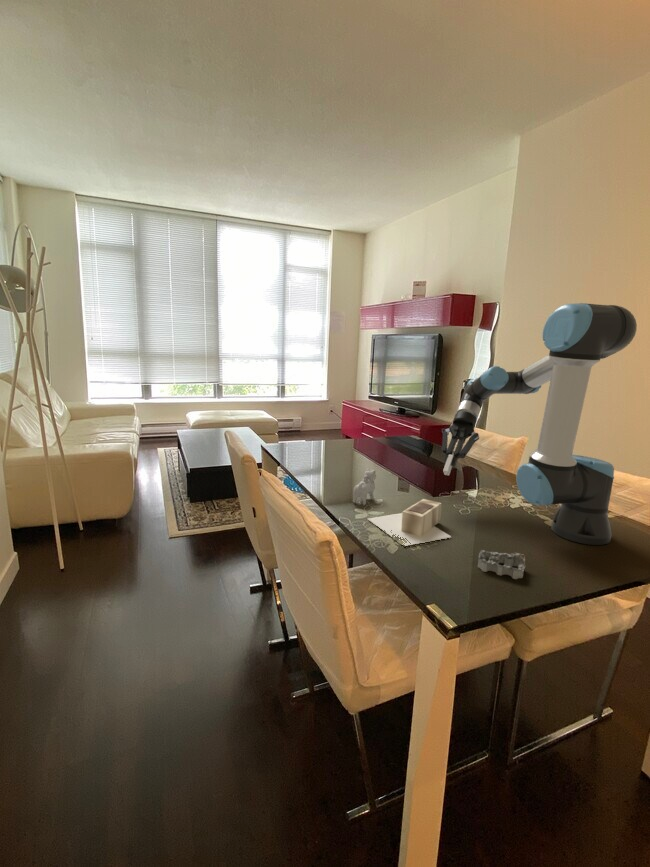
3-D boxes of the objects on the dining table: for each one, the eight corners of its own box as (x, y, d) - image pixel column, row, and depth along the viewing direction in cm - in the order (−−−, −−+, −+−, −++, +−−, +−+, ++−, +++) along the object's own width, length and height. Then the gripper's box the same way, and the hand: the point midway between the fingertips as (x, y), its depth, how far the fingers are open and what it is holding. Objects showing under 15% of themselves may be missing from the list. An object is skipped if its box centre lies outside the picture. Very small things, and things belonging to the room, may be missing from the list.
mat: (451, 538, 120) (451, 536, 120) (404, 547, 114) (404, 546, 114) (409, 513, 138) (410, 511, 138) (367, 520, 132) (367, 518, 132)
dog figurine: (378, 496, 154) (380, 468, 152) (365, 507, 143) (366, 476, 141) (365, 493, 156) (366, 465, 154) (350, 504, 145) (351, 474, 143)
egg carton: (525, 569, 105) (527, 554, 104) (522, 583, 98) (524, 567, 98) (480, 557, 110) (482, 543, 109) (474, 570, 104) (476, 554, 103)
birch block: (441, 502, 129) (421, 516, 119) (440, 521, 131) (420, 536, 120) (423, 498, 133) (402, 510, 122) (422, 516, 134) (401, 530, 123)
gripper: (486, 425, 148) (467, 482, 138) (450, 421, 155) (429, 475, 145) (483, 412, 142) (464, 470, 132) (446, 408, 150) (424, 463, 140)
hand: (446, 473), depth 139 cm, fingers closed
